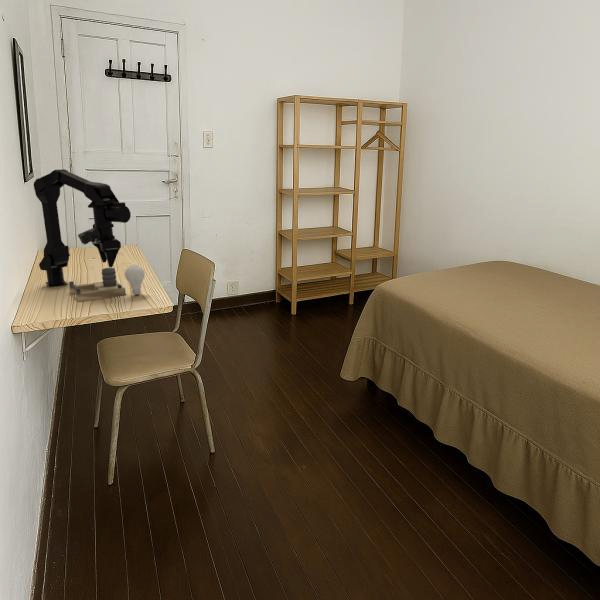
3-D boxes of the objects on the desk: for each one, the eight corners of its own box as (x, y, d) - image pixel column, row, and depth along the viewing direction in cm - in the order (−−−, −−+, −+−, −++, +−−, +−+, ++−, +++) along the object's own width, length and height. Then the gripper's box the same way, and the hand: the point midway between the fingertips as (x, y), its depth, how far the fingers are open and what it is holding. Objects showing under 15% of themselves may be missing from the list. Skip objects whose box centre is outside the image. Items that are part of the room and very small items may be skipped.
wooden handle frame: (70, 292, 190) (68, 281, 189) (115, 286, 199) (114, 275, 198) (78, 301, 179) (76, 289, 178) (125, 294, 188) (124, 283, 186)
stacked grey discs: (101, 284, 191) (99, 268, 190) (114, 283, 194) (113, 267, 192) (104, 287, 188) (103, 271, 186) (118, 285, 190) (116, 269, 188)
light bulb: (123, 295, 187) (120, 264, 184) (140, 291, 191) (138, 262, 188) (132, 299, 182) (129, 267, 179) (150, 295, 187) (147, 264, 184)
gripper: (73, 219, 187) (78, 262, 192) (84, 226, 172) (89, 272, 177) (105, 217, 193) (109, 259, 198) (119, 223, 178) (123, 268, 183)
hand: (107, 264), depth 189 cm, fingers open, 9 cm apart
